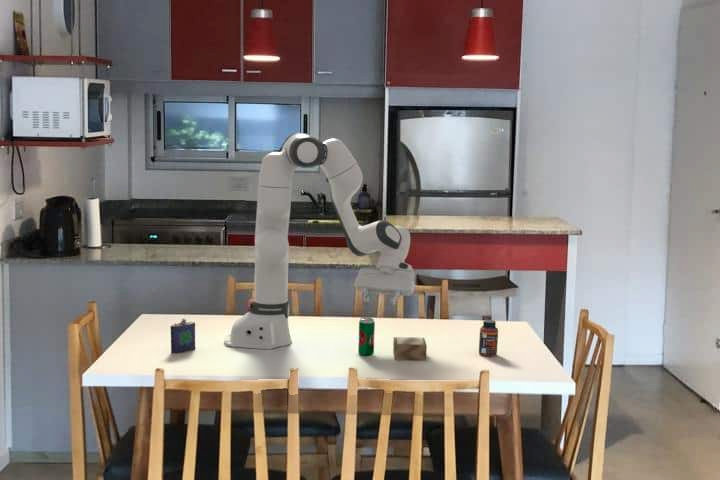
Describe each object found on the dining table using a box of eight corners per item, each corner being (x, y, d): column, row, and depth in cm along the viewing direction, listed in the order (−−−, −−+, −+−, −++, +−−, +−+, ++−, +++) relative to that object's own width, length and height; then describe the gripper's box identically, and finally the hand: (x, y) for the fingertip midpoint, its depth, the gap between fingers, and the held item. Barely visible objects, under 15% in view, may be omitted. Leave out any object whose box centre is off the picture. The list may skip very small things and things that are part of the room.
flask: (192, 347, 304) (192, 315, 303) (197, 349, 302) (197, 317, 301) (169, 352, 298) (168, 320, 296) (174, 354, 296) (174, 321, 294)
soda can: (372, 357, 298) (373, 320, 296) (356, 356, 299) (357, 319, 297) (375, 353, 303) (376, 317, 301) (359, 352, 304) (360, 316, 302)
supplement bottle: (485, 357, 301) (487, 323, 299) (475, 353, 306) (476, 319, 304) (500, 356, 303) (502, 322, 302) (490, 351, 308) (491, 318, 307)
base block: (394, 360, 295) (395, 344, 294) (393, 351, 305) (393, 336, 304) (426, 360, 295) (426, 344, 294) (423, 352, 305) (424, 336, 304)
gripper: (358, 260, 318) (347, 294, 310) (415, 265, 310) (405, 300, 303) (363, 271, 322) (352, 304, 315) (419, 276, 315) (409, 310, 308)
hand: (378, 302), depth 309 cm, fingers open, 8 cm apart
